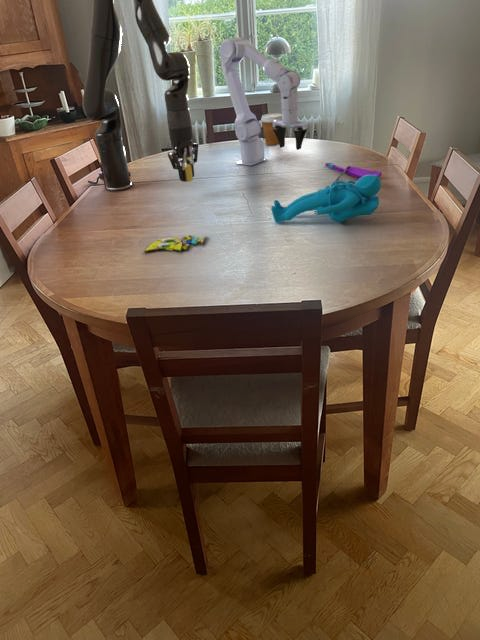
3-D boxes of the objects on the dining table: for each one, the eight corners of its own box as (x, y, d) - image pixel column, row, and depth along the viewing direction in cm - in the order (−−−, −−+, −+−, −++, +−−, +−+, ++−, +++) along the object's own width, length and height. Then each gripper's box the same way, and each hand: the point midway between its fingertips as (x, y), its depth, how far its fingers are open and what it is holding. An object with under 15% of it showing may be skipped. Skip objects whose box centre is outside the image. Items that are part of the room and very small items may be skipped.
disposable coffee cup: (259, 145, 216) (257, 117, 209) (266, 140, 223) (265, 113, 216) (279, 146, 212) (278, 117, 206) (286, 140, 220) (285, 112, 213)
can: (181, 182, 159) (179, 168, 157) (182, 179, 162) (180, 165, 160) (192, 181, 159) (191, 166, 157) (193, 178, 162) (191, 163, 160)
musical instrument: (369, 191, 157) (389, 166, 169) (368, 185, 155) (389, 160, 168) (302, 188, 169) (326, 165, 182) (302, 182, 168) (325, 160, 180)
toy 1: (199, 248, 125) (143, 249, 127) (199, 251, 125) (144, 252, 127) (206, 233, 133) (154, 234, 135) (206, 236, 133) (154, 237, 136)
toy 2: (275, 189, 144) (378, 163, 133) (284, 222, 149) (384, 199, 138) (266, 210, 130) (379, 182, 120) (276, 245, 135) (386, 221, 125)
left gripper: (175, 130, 145) (183, 186, 154) (202, 120, 154) (208, 173, 164) (156, 129, 148) (165, 184, 157) (184, 119, 158) (191, 172, 167)
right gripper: (267, 110, 175) (268, 148, 182) (299, 112, 167) (300, 152, 174) (278, 106, 179) (279, 144, 187) (311, 108, 171) (311, 148, 178)
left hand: (187, 178), depth 161 cm, fingers closed on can, 3 cm apart
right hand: (290, 148), depth 181 cm, fingers open, 7 cm apart
